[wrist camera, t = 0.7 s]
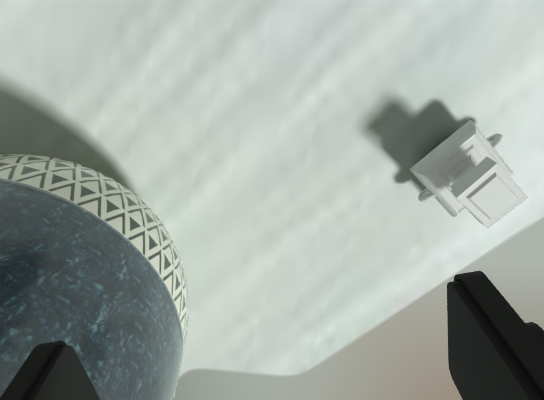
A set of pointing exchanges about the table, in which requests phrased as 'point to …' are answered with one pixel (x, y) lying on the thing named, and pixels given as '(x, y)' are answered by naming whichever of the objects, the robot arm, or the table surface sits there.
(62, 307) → the planter
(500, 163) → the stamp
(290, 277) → the table surface
